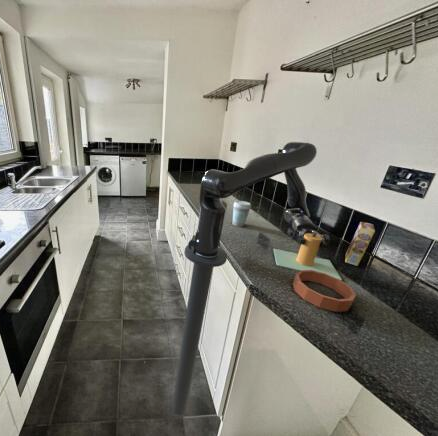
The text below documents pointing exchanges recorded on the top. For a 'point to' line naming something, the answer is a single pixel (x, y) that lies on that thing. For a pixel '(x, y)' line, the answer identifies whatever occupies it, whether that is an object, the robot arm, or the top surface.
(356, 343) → the top surface
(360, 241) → the candy box
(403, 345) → the top surface
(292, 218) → the robot arm
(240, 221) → the coffee cup
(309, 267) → the towel
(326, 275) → the ring
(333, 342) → the top surface
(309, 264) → the orange cylinder
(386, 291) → the top surface
